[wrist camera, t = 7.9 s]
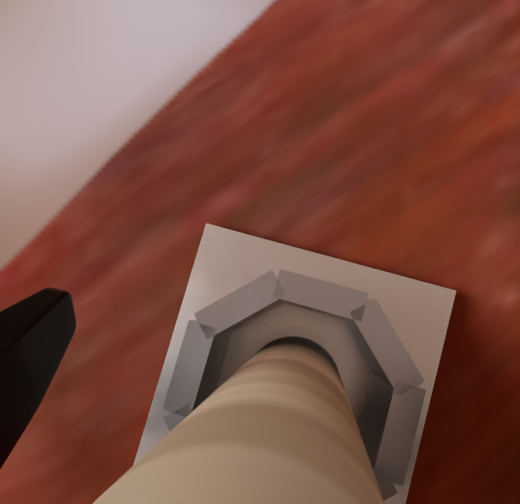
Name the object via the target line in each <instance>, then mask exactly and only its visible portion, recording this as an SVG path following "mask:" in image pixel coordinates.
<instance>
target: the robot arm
mask: <svg viewBox="0 0 520 504" xmlns="http://www.w3.org/2000/svg"><path fill="white" fill-rule="evenodd" d="M75 329H76V318H75V313H74V307H73V302H72V297H71V295H70V293H69V292H67V291H64V290H60V289H56V288H45V289H43V290H41V291H39V292H37V293H35V294H33V295H31V296H29V297H27V298H25V299H23V300H21V301H19V302H17V303H16V304H14V305H12V306H10V307H8V308H6V309H4V310H2V311H0V469H1V467H2V466H3V464H4V463H5V461H6V459H7V458H8V456H9V454H10V453H11V451H12V450H13V448H14V446H15V445H16V443H17V442H18V440H19V438H20V437H21V435H22V433H23V432H24V430H25V429H26V427H27V425H28V424H29V422H30V420H31V419H32V417H33V416H34V414H35V412H36V410H37V409H38V407H39V405H40V403H41V401H42V399H43V398H44V396H45V394H46V392H47V389H48V387H49V385H50V383H51V381H52V379H53V377H54V375H55V373H56V371H57V368H58V366H59V364H60V362H61V360H62V358H63V356H64V354H65V352H66V350H67V348H68V345H69V343H70V341H71V339H72V337H73V335H74V332H75Z"/></svg>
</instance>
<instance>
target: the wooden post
mask: <svg viewBox="0 0 520 504" xmlns="http://www.w3.org/2000/svg"><path fill="white" fill-rule="evenodd" d="M93 504H385V503H384V500H383V497H382V494H381V491H380V489H379V486H378V483H377V480H376V477H375V474H374V471H373V468H372V466H371V463H370V460H369V457H368V454H367V451H366V448H365V445H364V443H363V440H362V437H361V434H360V431H359V428H358V425H357V423H356V420H355V417H354V414H353V411H352V408H351V405H350V402H349V400H348V397H347V394H346V391H345V388H344V385H343V382H342V379H341V377H340V374H339V371H338V368H337V366H336V364H335V362H334V360H333V358H332V357H331V356H330V354H329V353H328V352H327V351H326V350H325V349H324V348H323V347H321V346H320V345H319V344H317V343H315V342H314V341H311V340H309V339H306V338H302V337H296V336H289V337H282V338H279V339H276V340H274V341H271V342H270V343H268V344H266V345H265V346H264V347H263V348H261V349H260V350H259V351H258V352H257V353H256V354H255V355H254V356H253V357H251V358H250V359H249V360H248V361H247V362H246V363H245V364H244V365H243V366H242V367H241V368H239V369H238V370H237V371H236V372H235V373H234V374H233V375H232V376H231V377H230V378H229V379H227V380H226V381H225V382H224V383H223V384H222V385H221V386H220V387H219V388H218V389H217V390H215V391H214V392H213V393H212V394H211V395H210V396H209V397H208V398H207V399H206V400H205V401H204V402H202V403H201V404H200V405H199V406H198V407H197V408H196V409H195V410H194V411H193V412H192V413H190V414H189V415H188V416H187V417H186V418H185V419H184V420H183V421H182V422H181V423H180V424H178V425H177V426H176V427H175V428H174V429H173V430H172V431H171V432H170V433H169V434H168V435H166V436H165V437H164V438H163V439H162V440H161V441H160V442H159V443H158V444H157V445H156V446H154V447H153V448H152V449H151V450H150V451H149V452H148V453H147V454H146V455H145V456H144V457H142V458H141V459H140V460H139V461H138V462H137V463H136V464H135V465H134V466H133V467H132V468H130V469H129V470H128V471H127V472H126V473H125V474H124V475H123V476H122V477H121V478H120V479H118V480H117V481H116V482H115V483H114V484H113V485H112V486H111V487H110V488H109V489H108V490H106V491H105V492H104V493H103V494H102V495H101V496H100V497H99V498H98V499H97V500H96V501H95V502H94V503H93Z"/></svg>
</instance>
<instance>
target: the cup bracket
mask: <svg viewBox="0 0 520 504" xmlns="http://www.w3.org/2000/svg"><path fill="white" fill-rule="evenodd" d="M455 294H456V291H455V290H452V289H448V288H444V287H440V286H437V285H433V284H429V283H426V282H422V281H418V280H415V279H411V278H407V277H403V276H400V275H396V274H392V273H389V272H385V271H381V270H377V269H374V268H370V267H366V266H363V265H359V264H355V263H351V262H348V261H344V260H340V259H337V258H333V257H329V256H326V255H322V254H318V253H314V252H311V251H307V250H303V249H300V248H296V247H292V246H288V245H285V244H281V243H277V242H274V241H270V240H266V239H262V238H259V237H255V236H251V235H248V234H244V233H240V232H237V231H233V230H229V229H225V228H222V227H218V226H214V225H211V224H207V223H206V226H205V229H204V232H203V236H202V239H201V242H200V246H199V249H198V252H197V256H196V259H195V262H194V265H193V269H192V272H191V275H190V279H189V282H188V285H187V289H186V292H185V295H184V299H183V302H182V305H181V309H180V312H179V315H178V319H177V322H176V325H175V329H174V332H173V335H172V339H171V342H170V345H169V349H168V352H167V355H166V359H165V362H164V365H163V369H162V372H161V375H160V379H159V382H158V385H157V389H156V392H155V395H154V398H153V402H152V405H151V408H150V412H149V415H148V418H147V422H146V425H145V428H144V432H143V435H142V438H141V442H140V445H139V448H138V452H137V455H136V458H135V462H134V465H135V464H136V463H137V462H138V461H139V460H140V459H141V458H142V457H144V456H145V455H146V454H147V453H148V452H149V451H150V450H151V449H152V448H153V447H154V446H156V445H157V444H158V443H159V442H160V441H161V440H162V439H163V438H164V437H165V436H166V435H168V434H169V433H170V432H171V431H172V430H173V429H174V428H175V427H176V426H177V425H178V424H180V423H181V422H182V421H183V420H184V419H185V418H186V417H187V416H188V415H189V414H190V413H192V412H193V411H194V410H195V409H196V408H197V407H198V406H199V405H200V404H201V403H202V402H204V401H205V400H206V399H207V398H208V397H209V396H210V395H211V394H212V393H213V392H214V391H215V390H217V389H218V388H219V387H220V386H221V385H222V384H223V383H224V382H225V381H226V380H227V379H229V378H230V377H231V376H232V375H233V374H234V373H235V372H236V371H237V370H238V369H239V368H241V367H242V366H243V365H244V364H245V363H246V362H247V361H248V360H249V359H250V358H251V357H253V356H254V355H255V354H256V353H257V352H258V351H259V350H260V349H261V348H263V347H264V346H265V345H266V344H268V343H270V342H271V341H274V340H276V339H279V338H282V337H289V336H296V337H302V338H306V339H309V340H311V341H314V342H315V343H317V344H319V345H320V346H321V347H323V348H324V349H325V350H326V351H327V352H328V353H329V354H330V356H331V357H332V358H333V360H334V362H335V364H336V366H337V368H338V371H339V374H340V377H341V379H342V382H343V385H344V388H345V391H346V394H347V397H348V400H349V402H350V405H351V408H352V411H353V414H354V417H355V420H356V423H357V425H358V428H359V431H360V434H361V437H362V440H363V443H364V445H365V448H366V451H367V454H368V457H369V460H370V463H371V466H372V468H373V471H374V474H375V477H376V480H377V483H378V486H379V489H380V491H381V494H382V497H383V500H384V503H385V504H406V500H407V495H408V491H409V487H410V483H411V479H412V474H413V470H414V466H415V462H416V458H417V453H418V449H419V445H420V441H421V437H422V433H423V428H424V424H425V420H426V416H427V412H428V407H429V403H430V399H431V395H432V391H433V386H434V382H435V378H436V374H437V370H438V365H439V361H440V357H441V353H442V349H443V345H444V340H445V336H446V332H447V328H448V324H449V319H450V315H451V311H452V307H453V303H454V298H455ZM134 465H133V466H134Z"/></svg>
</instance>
